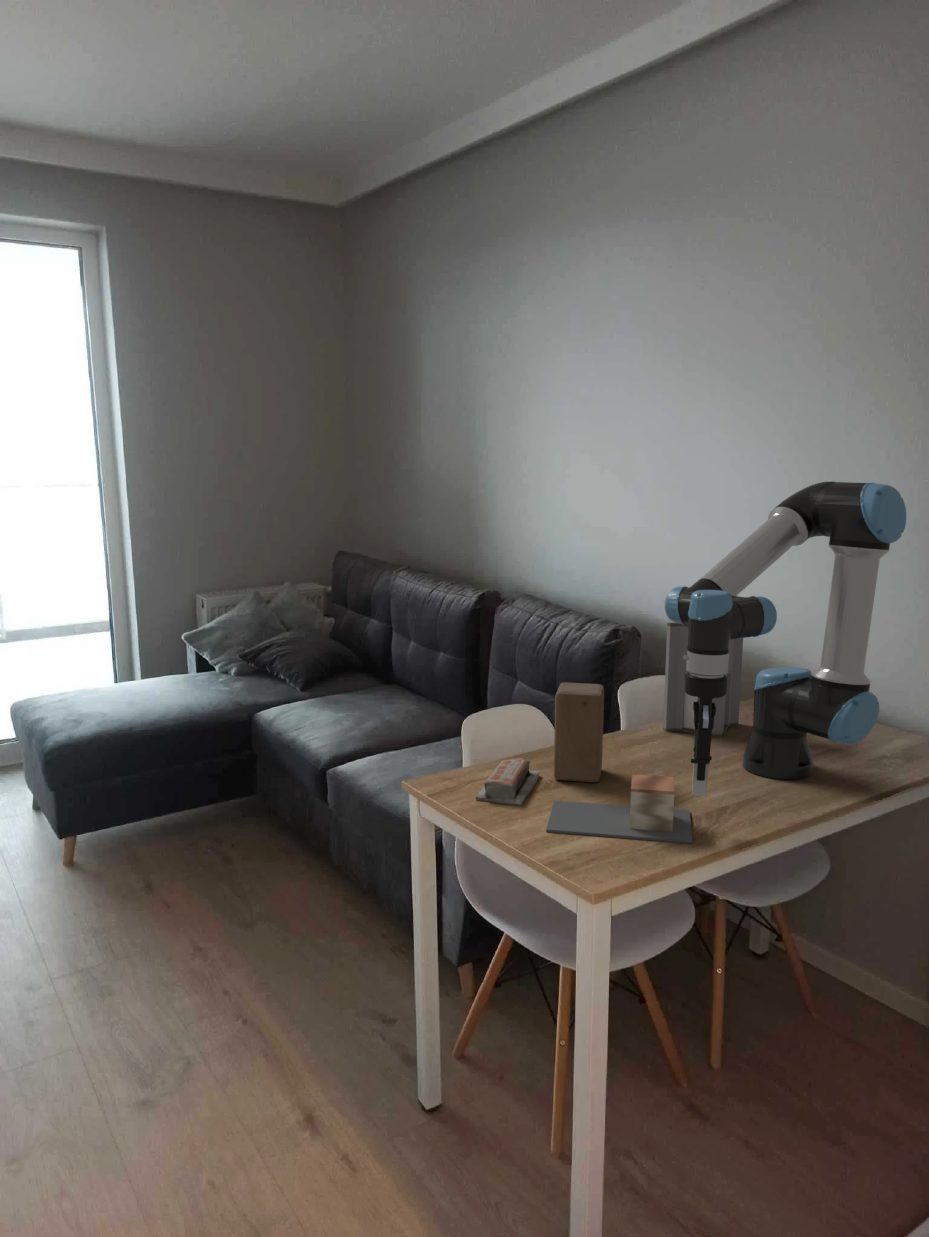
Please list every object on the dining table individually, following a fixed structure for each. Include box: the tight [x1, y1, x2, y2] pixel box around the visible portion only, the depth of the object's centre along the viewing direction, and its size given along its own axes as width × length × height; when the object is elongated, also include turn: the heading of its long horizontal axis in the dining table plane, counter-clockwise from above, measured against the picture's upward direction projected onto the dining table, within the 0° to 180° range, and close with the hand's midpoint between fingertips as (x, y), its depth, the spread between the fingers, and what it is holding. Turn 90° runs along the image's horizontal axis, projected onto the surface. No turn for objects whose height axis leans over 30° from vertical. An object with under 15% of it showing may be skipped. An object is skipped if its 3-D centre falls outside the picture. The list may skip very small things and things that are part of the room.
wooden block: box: [553, 681, 605, 783], centre depth 208 cm, size 10×10×20 cm
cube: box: [629, 773, 675, 832], centre depth 182 cm, size 8×8×8 cm
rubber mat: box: [545, 800, 693, 844], centre depth 184 cm, size 27×15×1 cm, turn 79°
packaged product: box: [475, 757, 540, 806], centre depth 202 cm, size 18×5×10 cm
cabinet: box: [662, 622, 744, 738], centre depth 238 cm, size 21×10×28 cm, turn 106°
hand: (699, 794), depth 179 cm, fingers closed
